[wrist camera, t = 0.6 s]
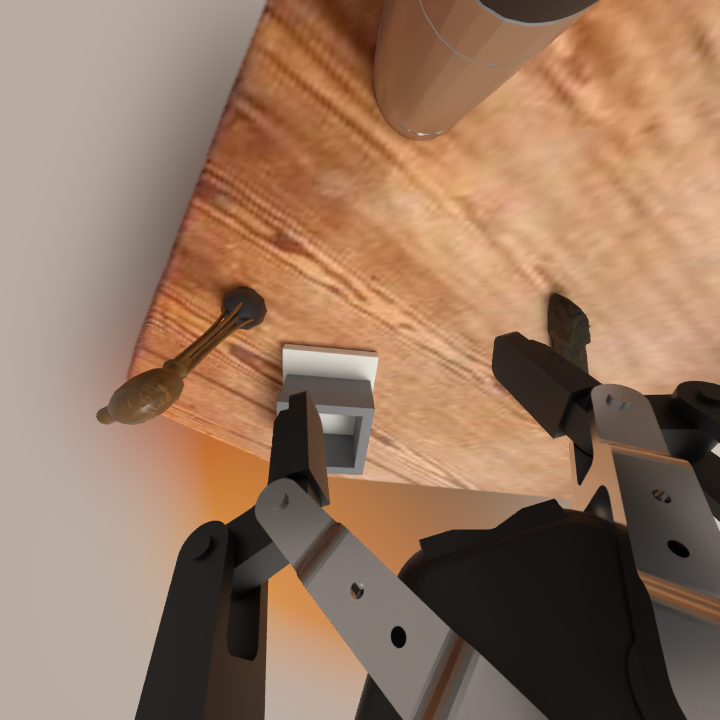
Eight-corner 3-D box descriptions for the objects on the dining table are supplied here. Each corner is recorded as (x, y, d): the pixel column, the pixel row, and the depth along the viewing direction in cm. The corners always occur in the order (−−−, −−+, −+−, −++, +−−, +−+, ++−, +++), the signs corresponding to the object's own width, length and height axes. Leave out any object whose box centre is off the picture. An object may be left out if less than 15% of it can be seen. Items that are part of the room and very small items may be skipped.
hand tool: (580, 398, 41) (606, 417, 37) (553, 407, 42) (576, 427, 38) (573, 283, 33) (605, 292, 29) (540, 296, 34) (567, 307, 29)
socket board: (285, 343, 35) (270, 373, 28) (377, 352, 36) (384, 382, 29) (285, 447, 43) (274, 489, 36) (360, 451, 44) (362, 492, 37)
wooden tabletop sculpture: (234, 335, 34) (110, 464, 16) (209, 302, 32) (36, 409, 14) (274, 315, 33) (190, 429, 15) (251, 280, 31) (123, 364, 13)
